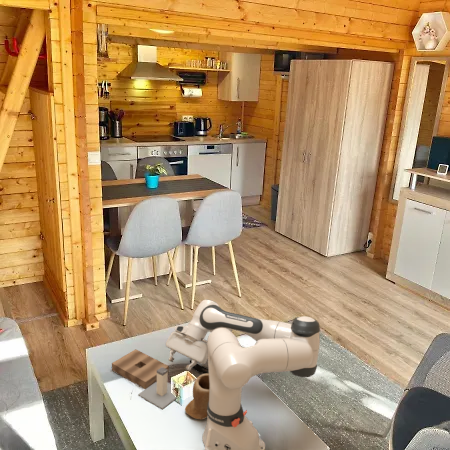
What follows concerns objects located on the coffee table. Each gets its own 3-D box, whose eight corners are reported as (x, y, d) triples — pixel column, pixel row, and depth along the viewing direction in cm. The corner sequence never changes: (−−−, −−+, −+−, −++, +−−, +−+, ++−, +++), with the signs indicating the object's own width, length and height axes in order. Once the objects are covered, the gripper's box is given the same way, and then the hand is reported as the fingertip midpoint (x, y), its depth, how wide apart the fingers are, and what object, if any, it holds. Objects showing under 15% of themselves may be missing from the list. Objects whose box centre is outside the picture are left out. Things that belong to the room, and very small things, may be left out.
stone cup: (205, 427, 168) (207, 392, 163) (180, 413, 174) (181, 379, 169) (228, 405, 180) (231, 372, 175) (204, 393, 186) (206, 361, 181)
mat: (184, 392, 185) (184, 391, 185) (162, 409, 175) (162, 408, 175) (160, 379, 192) (160, 378, 192) (138, 395, 182) (138, 394, 182)
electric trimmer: (193, 364, 205) (193, 358, 204) (219, 378, 196) (219, 372, 195) (187, 367, 202) (187, 361, 201) (213, 383, 193) (213, 376, 192)
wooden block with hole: (168, 373, 197) (168, 366, 196) (145, 389, 186) (145, 382, 185) (135, 355, 208) (135, 349, 207) (111, 370, 197) (111, 363, 196)
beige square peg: (167, 392, 184) (167, 369, 181) (162, 396, 182) (162, 373, 178) (161, 389, 186) (162, 366, 183) (156, 393, 183) (156, 370, 180)
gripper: (216, 346, 192) (201, 377, 187) (179, 329, 203) (164, 358, 198) (210, 341, 187) (195, 373, 182) (173, 324, 198) (157, 354, 193)
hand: (178, 365), depth 190 cm, fingers open, 8 cm apart
